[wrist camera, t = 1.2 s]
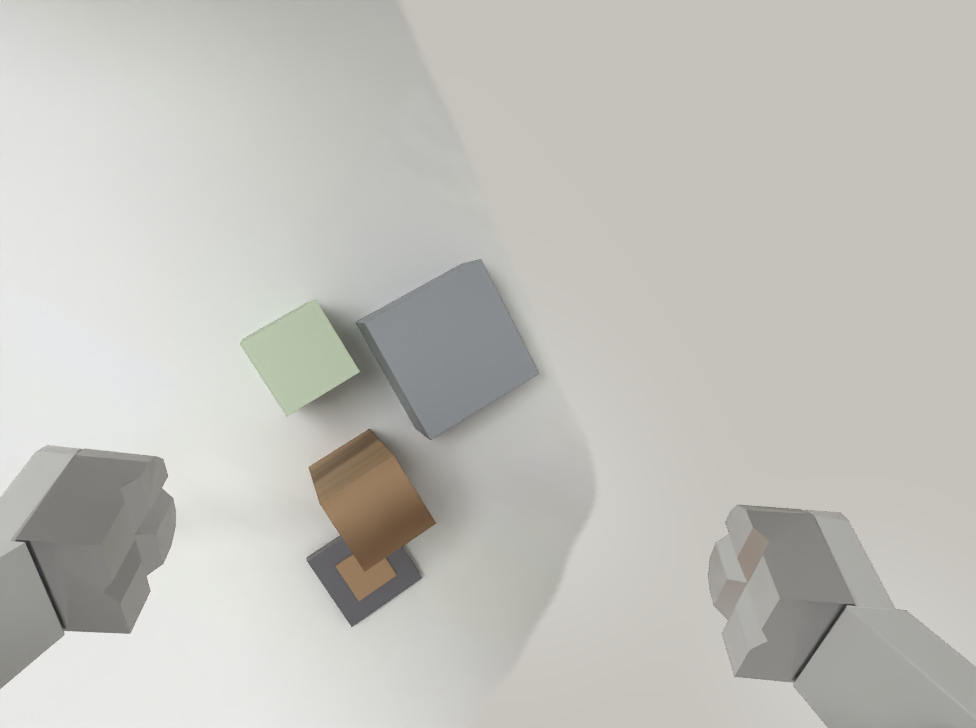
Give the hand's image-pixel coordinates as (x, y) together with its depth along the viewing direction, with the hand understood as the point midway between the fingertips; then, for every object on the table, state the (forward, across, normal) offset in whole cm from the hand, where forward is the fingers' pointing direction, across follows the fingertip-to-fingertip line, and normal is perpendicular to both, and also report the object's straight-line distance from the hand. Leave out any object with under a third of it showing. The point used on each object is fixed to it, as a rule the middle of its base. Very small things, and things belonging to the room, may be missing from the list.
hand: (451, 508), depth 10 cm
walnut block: (+29, +6, +30) cm, 42 cm away
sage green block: (+33, +11, +22) cm, 41 cm away
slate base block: (+36, +1, +22) cm, 42 cm away
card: (+26, +5, +35) cm, 44 cm away
